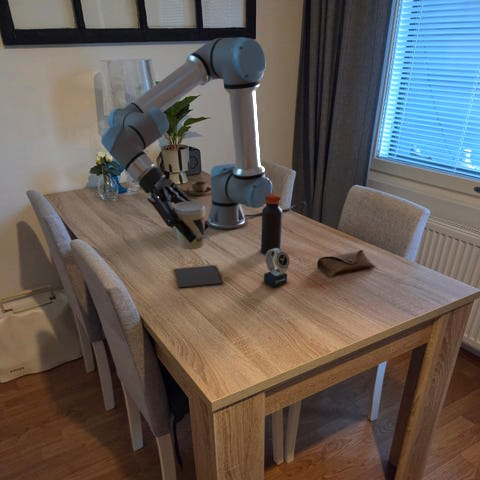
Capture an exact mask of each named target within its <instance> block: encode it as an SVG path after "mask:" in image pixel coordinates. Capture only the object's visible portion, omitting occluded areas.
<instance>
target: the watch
mask: <svg viewBox="0 0 480 480" xmlns="http://www.w3.org/2000/svg"><path fill="white" fill-rule="evenodd" d="M272 251H274V252H275V253H274V255H271V254H272ZM273 256H274V259H273ZM265 264H266V268H267V270H268V272H265V273H264V274H263V284H265V285H267V286H269V287H270V288H272V289H274V288H278V287H279V286H282V285H285V284H287V282H288V273H287V270H288V268H289V265H290V257H289V255H288V253H286V252H285V251H284V250H282V249H281V248H280V249H279V248H274V249H271V250H268V251H267V253H266V254H265ZM275 266H276V267H277V269H276V268H275Z"/></svg>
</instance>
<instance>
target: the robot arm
mask: <svg viewBox="0 0 480 480" xmlns="http://www.w3.org/2000/svg"><path fill="white" fill-rule="evenodd" d="M265 53H266V52H265V51H264V48H263V47H262V45H261V44H260V43H259V42H258V41H257V40H255V39H254V38H250V37H244V36H243V37H242V36H240V37H218V38H215V39H212V40H210V41H208V42H207V43H205V44H204V45H202V46H200V47H199V48H197V49H196V50H195V51H193V52H192V53H191V54H190V55H187V57H186V59H185V63H183V64H182V65H181V66H179V67H178V68H176V69H175V70H174V71H172V72H171V73H170V74H168V75H167V76H166V77H164V78H163V79H161V80H160V81H159V82H157V83H156V84H155V85H153V86H152V87H150V88H149V89H148V90H146V91H145V92H143V93H142V94H141V95H140V96H138V97H137V98H135V99H134V100H133V101H132V102H130V103H129V104H127V105H126V106H125V107H123V108H114V109H112V110H111V111H110V113H109V114H108V117H107V124H108V128H107V129H106V130H105V131H104V132H103V134H102V135H101V138H100V142H101V144H102V146H103V147H104V149H105V150H106V151H107V152H108V153H109V155H110V156H111V157H112V158H113V159H114V160H115V161H116V162H117V163H118V164H119V165H120V166H121V167H122V168H123V169H124V170H125V171H126V173H128V175H129V176H130V177H131V178H132V179H133V181H135V183H138V186H139V187H140V188H141V189H142V191H143V192H144V193H145V194H150V195H149V196H148V198H147V201H148V202H149V203H150V204H151V205H152V207H154V209H155V210H156V212H157V213H158V214H159V216H160V217H161V219H162V221H164V223H165V225H166V226H167V227H170V228H171V229H173V228H174V227H175V229H176V228H177V229H178V230H179V231H180V233H182V234H183V235H184V237H185V238H186V239H187V240H188V241H189V242H190V243H191V242H192V241H194V240H195V239H196V238H197V236H196V235H195V234H194V233H193V232H192V230H191V229H190V228H189V227H188V226H187V225H186V224H185V223H184V222H183V220H181V221H180V222H179V218H178V216H177V214H176V212H175V210H174V206H173V205H172V203H174V205H175V204H177V203H180V202H186V201H194V200H193V199H192V198H191V197H188V194H186V193H185V192H184V191H183V190H182V189H180V188H179V186H178V185H177V184H176V182H174V181H173V182H172V183H171V184H168V182H167V181H165V179H166V175H165V173H164V172H163V171H162V170H161V169H160V168H159V167H158V166H156V163H155V162H154V160H152V159H151V158H150V157H149V155H148V154H146V152H145V150H146V149H147V148H148V147H149V146H151V145H152V144H154V143H155V142H156V141H157V140H159V139H160V138H162V137H163V136H164V135H165V134H166V133H168V131H169V130H170V122H169V119H168V117H167V116H166V114H165V111H167V110H168V109H169V108H170V107H172V106H173V105H175V104H176V103H178V102H179V101H180V100H181V99H183V98H184V97H185V96H186V95H188V94H189V93H191V92H192V91H193V90H194V89H195V88H197V87H198V86H205V85H206V84H208V83H209V82H212V81H214V80H215V81H216V80H222V81H223V82H222V83H223V88H224V90H225V91H226V92H227V93H228V94H229V104H230V105H229V106H230V113H231V115H230V116H231V124H232V134H233V135H232V136H233V144H234V145H233V147H234V155H235V156H234V157H235V163H227V164H226V163H225V164H220V165H219V164H218V165H215V166H213V167H212V168H211V169H210V188H211V193H210V195H211V207H210V209H209V213H208V217H207V221H206V220H205V227H204V232H205V231H206V230H208V228H210V227H211V228H213V229H218V230H235V229H238V228H241V227H243V226H245V225H246V218H249V217H258V216H262V212H259V213H253V214H244V211H243V208H242V207H243V206H245V207H247V208H252V209H259V208H262V207H263V206H265V205H266V202H265V199H266V195H267V194H272V192H273V191H272V190H273V184H272V181H271V179H269V178H268V177H267V176H266V173H265V172H266V170H265V169H266V168H265V166H264V165H262V164H261V158H260V144H259V127H258V113H257V96H256V95H257V94H256V91H257V89H258V88H259V86H260V80H261V78H263V76H264V72H265V71H266V67H267V59H266V54H265ZM242 205H243V206H242ZM300 205H304V206H307V205H308V204H307V203H306V202H305V201H300V202H298V203H296V204H293V205H291V206H290V207H288V208H285V209H282V213H284V212H289V211H291V209H293V208H296V207H298V206H300Z"/></svg>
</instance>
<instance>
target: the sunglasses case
mask: <svg viewBox="0 0 480 480" xmlns="http://www.w3.org/2000/svg"><path fill="white" fill-rule="evenodd" d="M316 264H317V265H316V266H317V268H318V270H320V271H321V272H322V273H323V274H325V275H327V276H329V277H334V276H337V275H341V274H347V273H352V272H357V271H362V270H366V269H370V268H374V267H375V265H374V264H372V262H371V261H370V260H369V258H368V257H367V255H366V254H365V253H364V250H363V249H360V250H355V251H351V252H345V253H340V254H334V255H330V256H329V255H328V256H323V257H320V258H318V259H317V263H316Z"/></svg>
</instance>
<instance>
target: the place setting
mask: <svg viewBox="0 0 480 480" xmlns="http://www.w3.org/2000/svg"><path fill="white" fill-rule="evenodd" d="M172 182H174V181H173V179H167V183H168V184H171V183H172ZM187 193H188V194H189V196H188V195H187V196H188V197H189V198H190V199H195V196H196V197H204V196H207V195H211V187H209V186H207V182H206V181H193V182H192V184H191V187H189V188H188V189H187ZM190 195H191V196H190Z"/></svg>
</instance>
